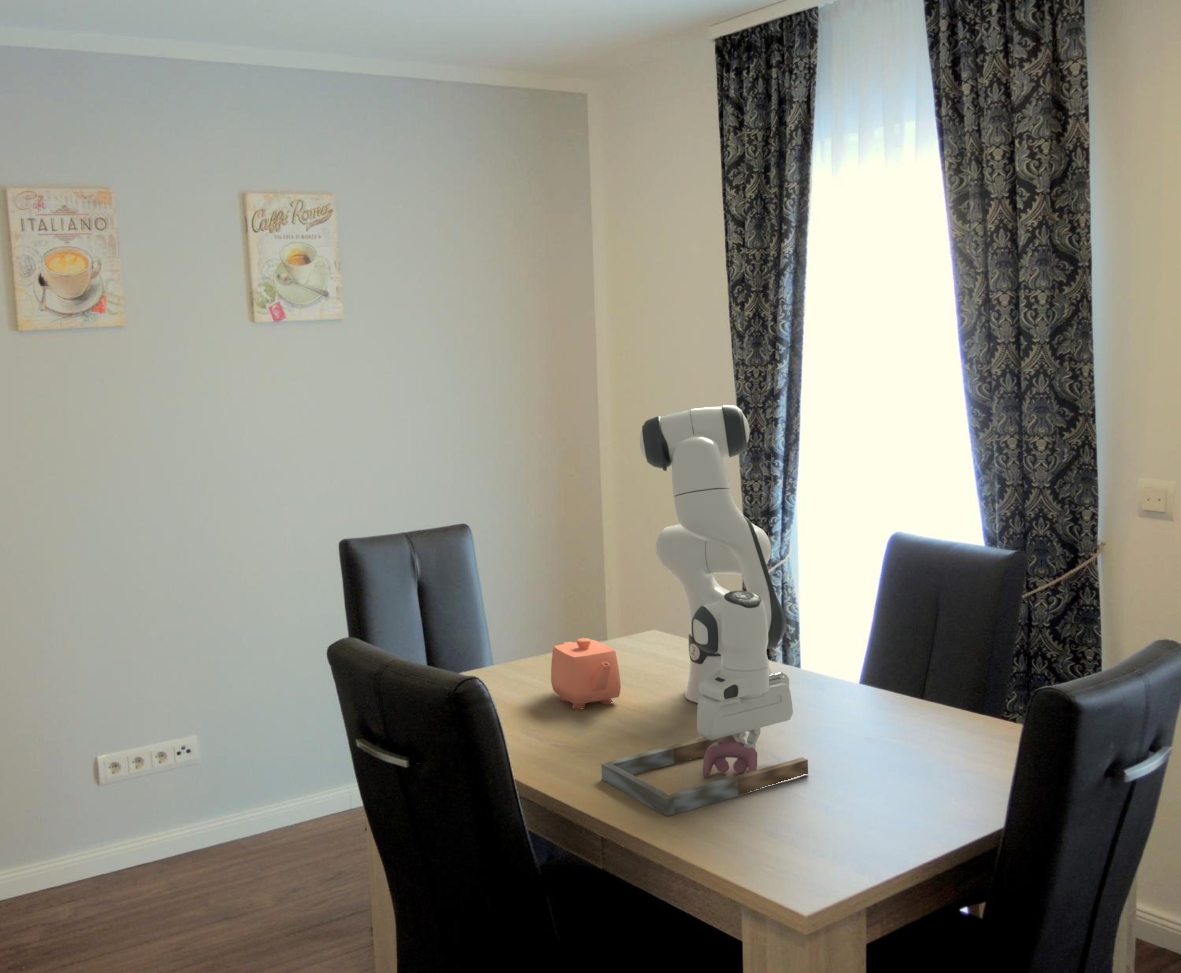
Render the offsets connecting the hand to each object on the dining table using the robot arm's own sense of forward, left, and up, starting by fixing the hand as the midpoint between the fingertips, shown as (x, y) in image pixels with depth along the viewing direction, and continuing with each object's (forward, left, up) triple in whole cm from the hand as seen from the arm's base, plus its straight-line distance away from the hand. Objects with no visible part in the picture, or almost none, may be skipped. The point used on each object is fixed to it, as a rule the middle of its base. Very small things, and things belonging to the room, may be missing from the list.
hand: (747, 752), depth 214 cm
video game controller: (+5, +1, -3) cm, 6 cm away
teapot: (+3, -53, -3) cm, 53 cm away
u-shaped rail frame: (+10, 0, -3) cm, 11 cm away
